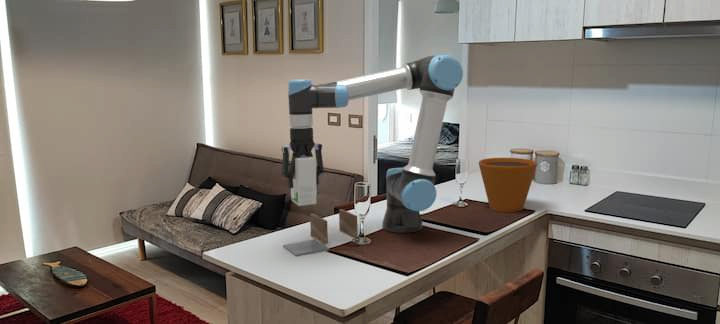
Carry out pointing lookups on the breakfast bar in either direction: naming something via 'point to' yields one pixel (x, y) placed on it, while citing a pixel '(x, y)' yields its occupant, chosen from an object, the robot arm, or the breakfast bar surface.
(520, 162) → the flower pot
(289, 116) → the robot arm
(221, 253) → the breakfast bar surface
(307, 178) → the skincare box
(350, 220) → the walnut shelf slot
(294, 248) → the slate coaster
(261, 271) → the breakfast bar surface
